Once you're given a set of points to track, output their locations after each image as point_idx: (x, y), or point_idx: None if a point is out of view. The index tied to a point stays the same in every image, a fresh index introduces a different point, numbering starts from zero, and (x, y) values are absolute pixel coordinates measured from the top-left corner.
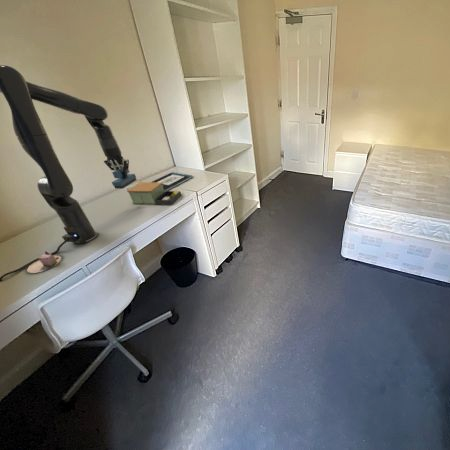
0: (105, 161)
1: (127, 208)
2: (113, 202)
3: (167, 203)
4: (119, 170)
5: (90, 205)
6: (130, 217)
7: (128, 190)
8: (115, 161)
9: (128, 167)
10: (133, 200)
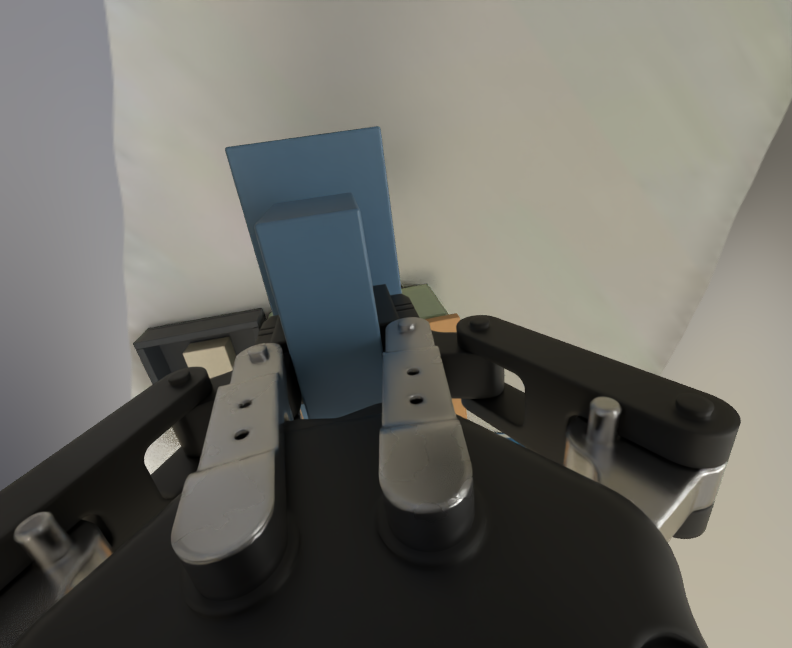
0: (678, 424)
1: (418, 220)
2: (571, 267)
3: (168, 328)
4: (295, 338)
5: (693, 201)
6: (287, 105)
7: (448, 323)
8: (228, 496)
9: (176, 469)
10: (420, 291)
